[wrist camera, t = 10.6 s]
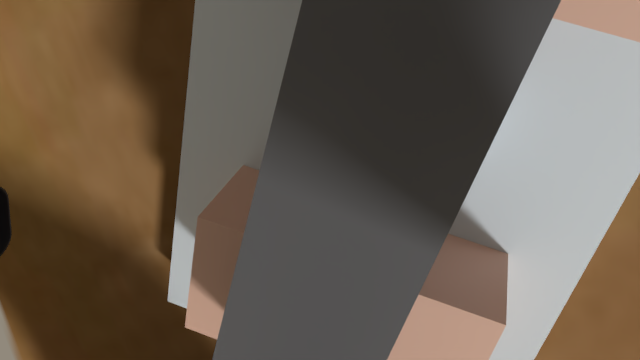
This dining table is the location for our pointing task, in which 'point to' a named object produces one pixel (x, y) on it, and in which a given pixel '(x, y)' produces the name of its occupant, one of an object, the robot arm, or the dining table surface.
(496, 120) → the frame bar
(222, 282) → the display stand
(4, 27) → the dining table surface
